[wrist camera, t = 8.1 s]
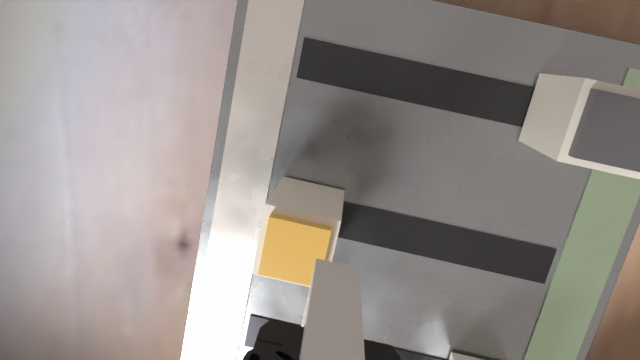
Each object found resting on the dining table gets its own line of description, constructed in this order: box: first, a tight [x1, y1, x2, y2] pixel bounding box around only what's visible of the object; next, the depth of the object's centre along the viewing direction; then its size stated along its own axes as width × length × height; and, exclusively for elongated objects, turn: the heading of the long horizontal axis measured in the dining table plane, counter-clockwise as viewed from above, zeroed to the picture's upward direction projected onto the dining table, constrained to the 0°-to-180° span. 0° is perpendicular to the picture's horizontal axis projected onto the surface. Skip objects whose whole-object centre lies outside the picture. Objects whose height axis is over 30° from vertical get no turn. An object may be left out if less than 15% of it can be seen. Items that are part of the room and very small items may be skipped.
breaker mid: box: [252, 176, 345, 287], centre depth 21 cm, size 3×3×5 cm
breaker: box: [518, 73, 640, 179], centre depth 19 cm, size 3×3×5 cm
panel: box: [181, 0, 640, 360], centre depth 25 cm, size 20×21×2 cm
